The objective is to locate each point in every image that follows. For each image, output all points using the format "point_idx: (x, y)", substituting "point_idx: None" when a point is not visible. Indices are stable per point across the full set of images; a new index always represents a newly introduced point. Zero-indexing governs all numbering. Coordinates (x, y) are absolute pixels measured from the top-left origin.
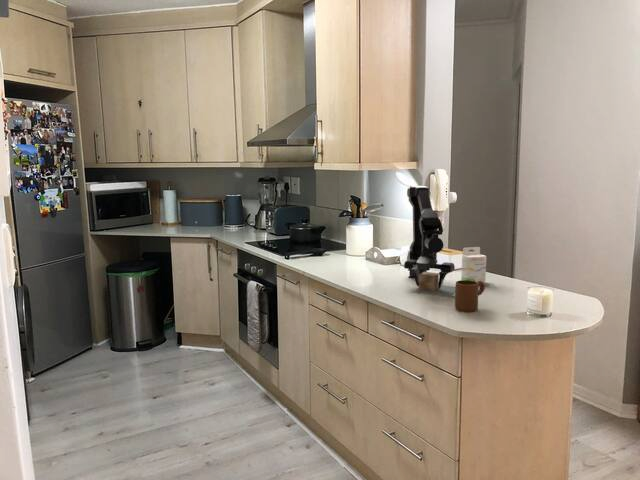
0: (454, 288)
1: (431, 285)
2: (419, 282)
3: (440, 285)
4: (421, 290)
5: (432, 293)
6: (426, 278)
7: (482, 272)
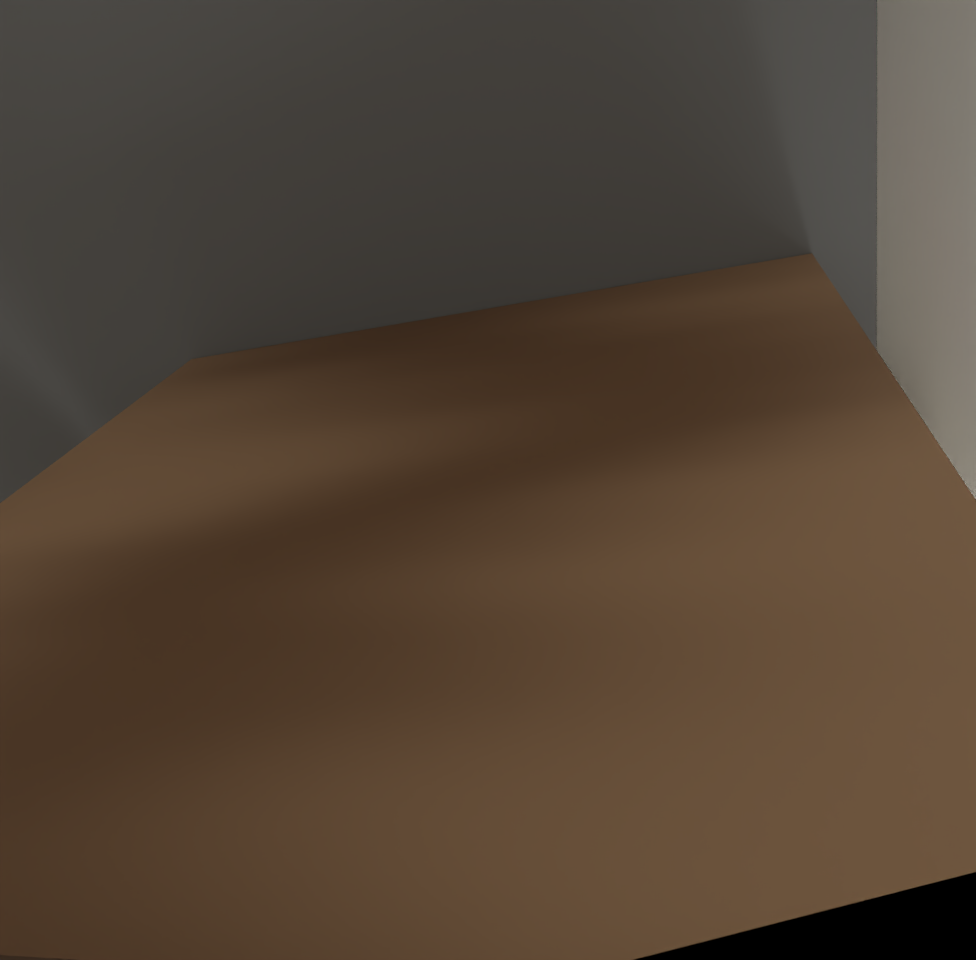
0: None
1: (147, 450)
2: (859, 404)
3: None
4: (654, 227)
5: (18, 56)
6: (231, 679)
7: None
